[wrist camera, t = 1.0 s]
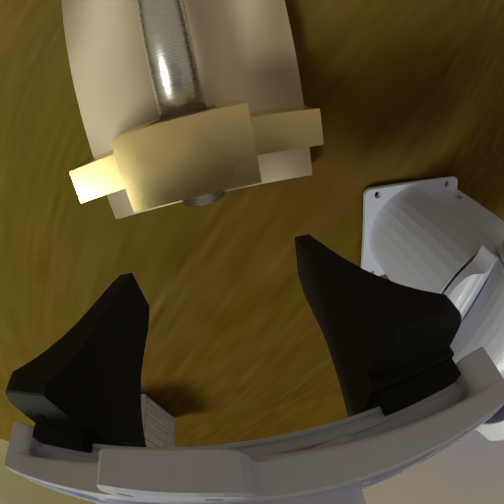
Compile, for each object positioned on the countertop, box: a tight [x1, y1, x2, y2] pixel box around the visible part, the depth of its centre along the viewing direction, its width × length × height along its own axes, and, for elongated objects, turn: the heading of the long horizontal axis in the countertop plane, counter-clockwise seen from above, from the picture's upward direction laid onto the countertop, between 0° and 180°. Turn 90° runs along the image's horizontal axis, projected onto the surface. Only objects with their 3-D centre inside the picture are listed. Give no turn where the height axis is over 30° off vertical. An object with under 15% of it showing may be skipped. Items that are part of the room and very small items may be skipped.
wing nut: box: [69, 100, 324, 213], centre depth 11 cm, size 11×3×5 cm, turn 100°
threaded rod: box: [135, 0, 225, 207], centre depth 8 cm, size 2×16×2 cm, turn 10°
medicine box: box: [141, 394, 175, 447], centre depth 27 cm, size 8×4×9 cm, turn 15°
